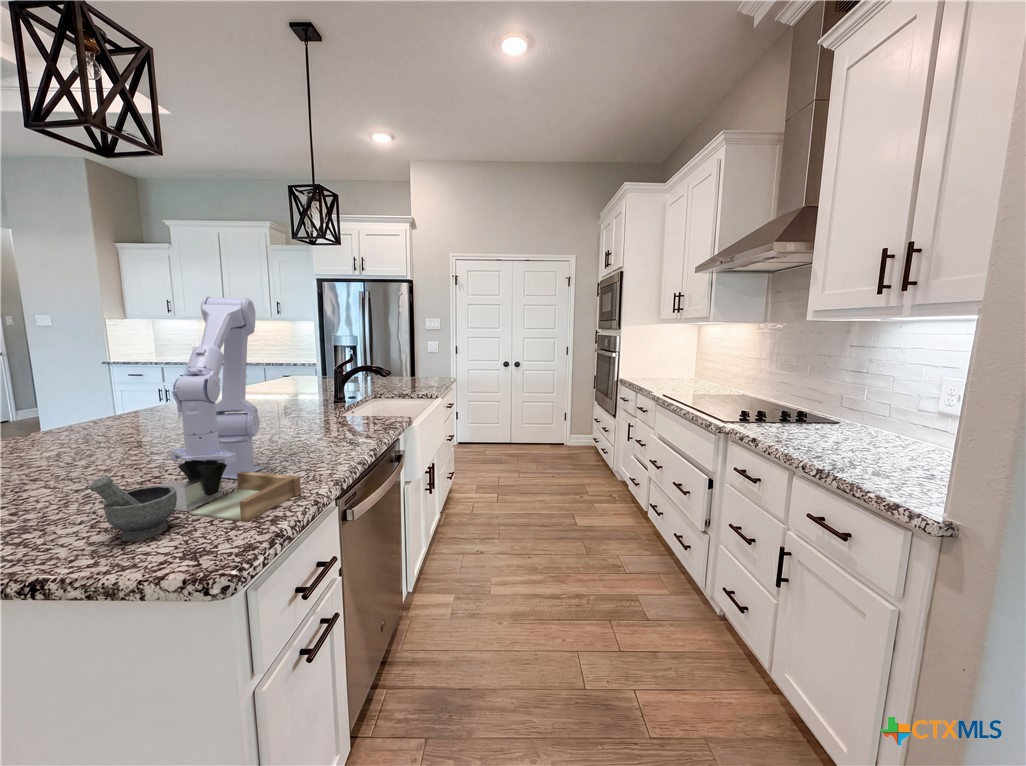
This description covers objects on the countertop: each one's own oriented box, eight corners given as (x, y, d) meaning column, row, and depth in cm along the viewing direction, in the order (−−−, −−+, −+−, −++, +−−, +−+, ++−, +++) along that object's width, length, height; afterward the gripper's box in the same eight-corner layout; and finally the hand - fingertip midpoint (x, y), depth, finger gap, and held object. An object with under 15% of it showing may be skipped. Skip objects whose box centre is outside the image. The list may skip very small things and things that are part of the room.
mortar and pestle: (163, 515, 79) (157, 456, 77) (191, 525, 75) (184, 464, 73) (85, 542, 69) (75, 475, 67) (111, 556, 65) (102, 486, 63)
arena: (186, 514, 80) (184, 494, 79) (243, 487, 93) (242, 471, 92) (251, 522, 77) (249, 502, 76) (300, 493, 90) (299, 476, 89)
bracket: (187, 511, 81) (184, 487, 80) (161, 508, 82) (158, 484, 81) (222, 495, 88) (220, 473, 88) (198, 492, 90) (196, 471, 89)
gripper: (152, 434, 82) (160, 497, 84) (212, 439, 79) (218, 504, 81) (186, 426, 89) (192, 484, 90) (242, 430, 86) (247, 490, 88)
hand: (206, 493), depth 86 cm, fingers closed on bracket, 2 cm apart
